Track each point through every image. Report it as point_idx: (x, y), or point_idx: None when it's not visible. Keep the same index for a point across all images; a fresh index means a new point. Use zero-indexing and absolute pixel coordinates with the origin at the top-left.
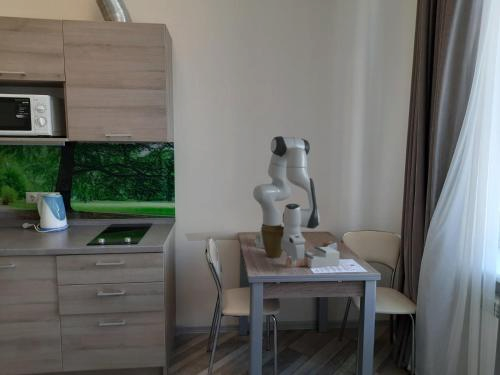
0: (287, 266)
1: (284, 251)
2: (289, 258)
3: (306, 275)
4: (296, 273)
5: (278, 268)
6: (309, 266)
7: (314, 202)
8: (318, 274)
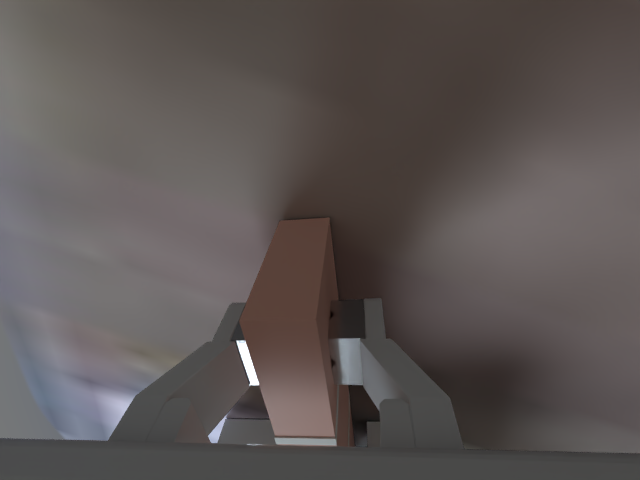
0: (277, 227)
1: (601, 455)
2: (257, 356)
3: (7, 318)
4: (46, 248)
5: (257, 46)
6: (261, 427)
7: None
8: (66, 406)
